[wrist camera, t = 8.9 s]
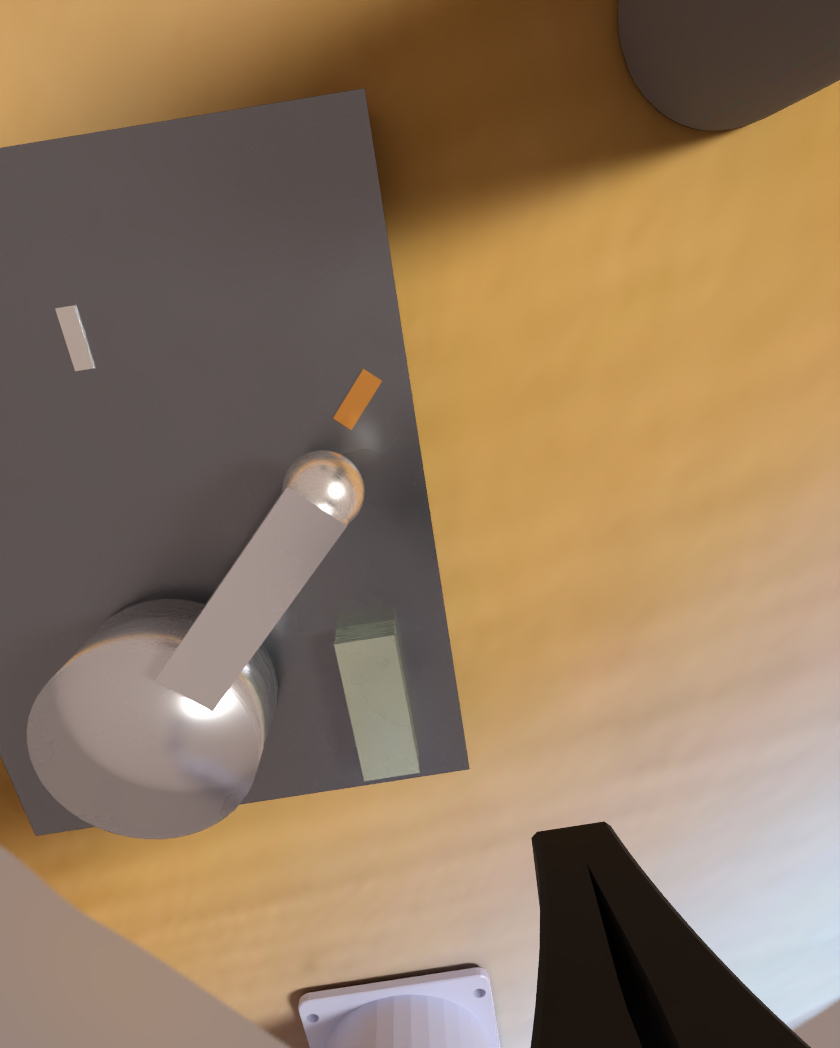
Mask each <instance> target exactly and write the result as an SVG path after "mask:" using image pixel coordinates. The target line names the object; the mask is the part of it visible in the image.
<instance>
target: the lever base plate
mask: <svg viewBox="0 0 840 1048" xmlns="http://www.w3.org/2000/svg"><path fill="white" fill-rule="evenodd" d="M320 450H327V451H333V452H336V453H339V454H341V455H343V456H345V457H346V458H348V459H349V460H350V461H351V462H352V463H353V464H354V465H355V466H356V467H357V469H358V470H359V472H360V474H361V476H362V479H363V482H364V489H365V493H364V501H363V504H362V507H361V509H360V511H359V513H358V514H357V516H356V517H355V518H354V519H353V520H352V521H351V522H350V523H349V524H348V525H347V527H346V528H345V530H344V531H343V533H342V534H341V535H340V537H339V538H338V539H337V541H336V542H335V544H334V545H333V546H332V548H331V549H330V550H329V552H328V553H327V555H326V556H325V557H324V559H323V560H322V562H321V563H320V564H319V566H318V567H317V568H316V570H315V571H314V573H313V574H312V575H311V577H310V578H309V579H308V581H307V582H306V584H305V585H304V586H303V588H302V589H301V590H300V592H299V593H298V595H297V596H296V597H295V599H294V600H293V602H292V603H291V604H290V606H289V607H288V608H287V610H286V611H285V613H284V614H283V615H282V617H281V618H280V619H279V621H278V622H277V624H276V625H275V626H274V628H273V629H272V631H271V632H270V633H269V635H268V636H267V637H266V639H265V640H264V642H263V643H262V645H263V646H264V648H265V649H266V651H267V653H268V654H269V656H270V658H271V660H272V663H273V666H274V669H275V672H276V677H277V684H278V696H277V704H276V708H275V711H274V715H273V718H272V721H271V725H270V728H269V732H268V735H267V738H266V742H265V745H264V748H263V752H262V755H261V758H260V762H259V765H258V768H257V772H256V775H255V778H254V781H253V783H252V786H251V788H250V790H249V792H248V793H247V795H246V796H245V798H244V799H243V801H242V802H241V803H240V804H246V803H252V802H259V801H265V800H272V799H278V798H285V797H291V796H298V795H304V794H311V793H317V792H324V791H330V790H337V789H343V788H350V787H356V786H363V785H369V784H376V783H383V782H389V781H396V780H402V779H409V778H415V777H422V776H428V775H435V774H441V773H448V772H454V771H461V770H467V769H469V763H468V756H467V750H466V743H465V737H464V730H463V724H462V717H461V711H460V704H459V698H458V691H457V685H456V678H455V672H454V665H453V659H452V652H451V646H450V639H449V633H448V626H447V620H446V613H445V607H444V600H443V594H442V587H441V581H440V574H439V568H438V561H437V555H436V549H435V542H434V536H433V529H432V523H431V516H430V510H429V503H428V497H427V490H426V484H425V477H424V471H423V464H422V458H421V451H420V445H419V438H418V432H417V425H416V419H415V412H414V406H413V399H412V393H411V386H410V380H409V373H408V367H407V360H406V354H405V347H404V341H403V334H402V328H401V321H400V315H399V308H398V302H397V295H396V289H395V282H394V276H393V269H392V263H391V256H390V250H389V243H388V237H387V230H386V224H385V217H384V211H383V204H382V198H381V191H380V185H379V178H378V172H377V165H376V159H375V152H374V146H373V139H372V133H371V126H370V120H369V114H368V107H367V101H366V94H365V88H364V89H358V90H352V91H346V92H340V93H333V94H327V95H321V96H315V97H309V98H303V99H297V100H291V101H285V102H278V103H272V104H266V105H260V106H254V107H248V108H242V109H236V110H229V111H223V112H217V113H211V114H205V115H199V116H193V117H187V118H181V119H174V120H168V121H162V122H156V123H150V124H144V125H138V126H132V127H126V128H119V129H113V130H107V131H101V132H95V133H89V134H83V135H77V136H71V137H64V138H58V139H52V140H46V141H40V142H34V143H28V144H22V145H16V146H9V147H3V148H0V756H1V758H2V761H3V763H4V765H5V767H6V770H7V772H8V774H9V776H10V779H11V781H12V783H13V785H14V788H15V790H16V792H17V795H18V797H19V799H20V801H21V804H22V806H23V808H24V810H25V813H26V815H27V817H28V819H29V822H30V824H31V826H32V828H33V831H34V833H35V835H36V836H38V835H44V834H51V833H57V832H64V831H70V830H77V829H83V828H90V827H95V826H93V825H91V824H89V823H87V822H85V821H84V820H82V819H80V818H78V817H77V816H75V815H74V814H73V813H71V812H70V811H68V810H67V809H66V808H65V807H63V806H62V805H61V804H60V803H59V802H58V801H57V800H56V799H55V798H54V797H53V796H52V795H51V794H50V793H49V792H48V790H47V789H46V788H45V786H44V785H43V783H42V782H41V780H40V779H39V777H38V775H37V773H36V771H35V769H34V767H33V764H32V761H31V759H30V756H29V751H28V745H27V725H28V718H29V715H30V712H31V709H32V706H33V704H34V702H35V700H36V698H37V696H38V694H39V693H40V692H41V690H42V689H43V688H44V686H45V685H46V684H47V683H48V682H49V681H50V680H51V679H52V677H53V676H54V675H55V674H56V673H57V672H58V671H59V670H60V669H61V668H62V667H63V666H64V665H65V664H66V663H67V661H68V660H69V659H70V658H71V657H72V656H73V655H74V654H75V653H76V652H77V651H78V650H79V649H80V648H81V647H82V646H83V644H84V643H85V642H86V641H87V640H88V639H89V638H90V637H91V636H92V635H93V634H94V633H95V632H96V631H97V630H98V629H99V628H100V627H101V626H102V625H103V624H104V623H105V622H106V621H107V620H108V619H109V618H111V617H112V616H114V615H115V614H116V613H118V612H120V611H122V610H124V609H126V608H128V607H130V606H133V605H136V604H139V603H142V602H147V601H151V600H160V599H182V600H189V601H195V602H199V603H203V604H206V603H207V601H208V600H209V598H210V597H211V595H212V594H213V592H214V591H215V589H216V588H217V587H218V585H219V584H220V582H221V581H222V579H223V578H224V576H225V575H226V573H227V572H228V570H229V569H230V567H231V566H232V565H233V563H234V562H235V560H236V559H237V557H238V556H239V554H240V553H241V551H242V550H243V548H244V547H245V546H246V544H247V543H248V541H249V540H250V538H251V537H252V535H253V534H254V532H255V531H256V529H257V528H258V526H259V525H260V524H261V522H262V521H263V519H264V518H265V516H266V515H267V513H268V512H269V510H270V509H271V507H272V506H273V505H274V503H275V502H276V500H277V499H278V497H279V496H280V494H281V493H282V484H283V480H284V477H285V474H286V472H287V471H288V469H289V467H290V466H291V465H292V464H293V463H294V462H295V461H296V460H297V459H298V458H300V457H301V456H303V455H305V454H307V453H310V452H313V451H320Z"/></svg>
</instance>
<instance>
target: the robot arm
mask: <svg viewBox="0 0 840 1048" xmlns="http://www.w3.org/2000/svg"><path fill="white" fill-rule="evenodd" d="M532 846H533V854H534V862H535V871H536V879H537V887H538V895H539V904H540V951H539V967H538V980H537V993H536V1006H535V1015H534V1024H533V1033H532V1041H531V1048H811V1047H810V1046H808V1045H807V1044H806V1043H805V1042H804V1041H803V1040H802V1039H801V1038H800V1037H798V1036H797V1035H796V1034H795V1033H794V1032H793V1031H792V1030H791V1029H790V1028H789V1027H788V1026H787V1025H786V1024H785V1023H784V1022H783V1021H781V1020H780V1019H779V1018H778V1017H777V1016H776V1015H775V1014H774V1013H773V1012H772V1011H771V1010H770V1009H769V1008H768V1007H767V1006H766V1005H765V1004H764V1003H763V1002H762V1001H761V1000H760V999H759V998H757V997H756V996H755V995H754V994H753V993H752V992H751V991H750V990H749V989H748V988H747V987H746V986H745V985H744V984H743V983H742V982H741V981H740V979H739V978H738V977H737V976H736V975H735V974H734V973H733V972H732V971H731V970H730V969H729V968H728V967H727V966H726V965H725V964H724V963H723V962H722V961H721V960H720V959H719V958H718V957H717V955H716V954H715V953H714V952H713V951H712V950H711V949H710V948H709V947H708V946H707V945H706V944H705V943H704V941H703V940H702V939H701V938H700V937H699V936H698V935H697V934H696V933H695V931H694V930H693V929H692V928H691V927H690V926H689V925H688V923H687V922H686V921H685V920H684V919H683V918H682V917H681V915H680V914H679V913H678V912H677V911H676V910H675V909H674V907H673V906H672V905H671V904H670V903H669V902H668V900H667V899H666V898H665V897H664V896H663V894H662V893H661V892H660V891H659V890H658V888H657V887H656V886H655V885H654V883H653V882H652V881H651V880H650V878H649V877H648V876H647V875H646V873H645V872H644V871H643V870H642V868H641V867H640V866H639V865H638V863H637V862H636V861H635V859H634V858H633V857H632V855H631V854H630V853H629V851H628V850H627V849H626V847H625V846H624V845H623V843H622V842H621V840H620V839H619V838H618V836H617V835H616V833H615V832H614V830H613V829H612V827H611V826H610V825H608V824H607V823H606V822H599V823H592V824H586V825H579V826H573V827H566V828H560V829H553V830H546V831H540V832H537V833H536V834H535V835H534V836H533V837H532ZM298 1011H299V1014H300V1018H301V1021H302V1024H303V1027H304V1031H305V1034H306V1037H307V1040H308V1044H309V1047H310V1048H501V1047H500V1041H499V1035H498V1029H497V1023H496V1016H495V1010H494V1004H493V998H492V992H491V986H490V980H489V974H488V972H487V971H486V970H485V969H483V968H480V967H475V968H469V969H462V970H455V971H449V972H442V973H435V974H429V975H422V976H416V977H409V978H402V979H396V980H389V981H383V982H376V983H369V984H363V985H356V986H349V987H343V988H336V989H330V990H323V991H316V992H310V993H306V994H304V995H303V996H301V998H300V1000H299V1006H298Z"/></svg>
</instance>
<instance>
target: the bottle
mask: <svg viewBox="0 0 840 1048" xmlns="http://www.w3.org/2000/svg"><path fill="white" fill-rule="evenodd" d="M618 32H619V38H620V44H621V48H622V51H623V55H624V58H625V61H626V64H627V67H628V70H629V72H630V74H631V76H632V78H633V81H634V82H635V84H636V85H637V87H638V89H639V90H640V92H641V93H642V95H643V96H644V97H645V98H646V99H647V100H648V101H649V102H650V103H651V104H652V105H653V106H654V107H655V108H656V109H657V110H658V111H659V112H660V113H661V114H663V115H665V116H666V117H668V118H670V119H672V120H673V121H675V122H677V123H678V124H681V125H684V126H687V127H691V128H695V129H699V130H715V131H722V130H728V129H735V128H740V127H743V126H746V125H748V124H751V123H754V122H756V121H759V120H761V119H764V118H766V117H768V116H770V115H772V114H774V113H776V112H778V111H780V110H782V109H784V108H786V107H788V106H790V105H792V104H794V103H796V102H798V101H800V100H802V99H804V98H806V97H808V96H810V95H812V94H814V93H816V92H818V91H820V90H821V89H823V88H825V87H827V86H829V85H831V84H833V83H835V82H837V81H839V80H840V0H618Z"/></svg>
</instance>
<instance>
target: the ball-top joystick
mask: <svg viewBox="0 0 840 1048" xmlns="http://www.w3.org/2000/svg"><path fill="white" fill-rule="evenodd" d="M364 493H365V489H364V482H363V479H362V476H361V474H360V472H359V470H358V469H357V467H356V466H355V465H354V464H353V463H352V462H351V461H350V460H349V459H348V458H346V457H345V456H343V455H341V454H339V453H336V452H333V451H327V450H320V451H313V452H310V453H307V454H305V455H303V456H301V457H300V458H298V459H297V460H296V461H295V462H294V463H293V464H292V465H291V466H290V467H289V469H288V471H287V472H286V474H285V477H284V480H283V484H282V493H281V494H280V496H279V497H278V499H277V500H276V502H275V503H274V505H273V506H272V507H271V509H270V510H269V512H268V513H267V515H266V516H265V518H264V519H263V521H262V522H261V524H260V525H259V526H258V528H257V529H256V531H255V532H254V534H253V535H252V537H251V538H250V540H249V541H248V543H247V544H246V546H245V547H244V548H243V550H242V551H241V553H240V554H239V556H238V557H237V559H236V560H235V562H234V563H233V565H232V566H231V567H230V569H229V570H228V572H227V573H226V575H225V576H224V578H223V579H222V581H221V582H220V584H219V585H218V587H217V588H216V589H215V591H214V592H213V594H212V595H211V597H210V598H209V600H208V601H207V603H206V604H203V603H199V602H195V601H189V600H182V599H160V600H151V601H147V602H142V603H139V604H136V605H133V606H130V607H128V608H126V609H124V610H122V611H120V612H118V613H116V614H115V615H114V616H112V617H111V618H109V619H108V620H107V621H106V622H105V623H104V624H103V625H102V626H101V627H100V628H99V629H98V630H97V631H96V632H95V633H94V634H93V635H92V636H91V637H90V638H89V639H88V640H87V641H86V642H85V643H84V644H83V646H82V647H81V648H80V649H79V650H78V651H77V652H76V653H75V654H74V655H73V656H72V657H71V658H70V659H69V660H68V661H67V663H66V664H65V665H64V666H63V667H62V668H61V669H60V670H59V671H58V672H57V673H56V674H55V675H54V676H53V677H52V679H51V680H50V681H49V682H48V683H47V684H46V685H45V686H44V688H43V689H42V690H41V692H40V693H39V694H38V696H37V698H36V700H35V702H34V704H33V706H32V709H31V712H30V715H29V718H28V725H27V745H28V751H29V756H30V759H31V761H32V764H33V767H34V769H35V771H36V773H37V775H38V777H39V779H40V780H41V782H42V783H43V785H44V786H45V788H46V789H47V790H48V792H49V793H50V794H51V795H52V796H53V797H54V798H55V799H56V800H57V801H58V802H59V803H60V804H61V805H62V806H63V807H65V808H66V809H67V810H68V811H70V812H71V813H73V814H74V815H75V816H77V817H78V818H80V819H82V820H84V821H85V822H87V823H89V824H91V825H93V826H95V827H98V828H100V829H103V830H105V831H108V832H111V833H115V834H118V835H122V836H127V837H132V838H142V839H167V838H176V837H181V836H186V835H190V834H193V833H196V832H199V831H202V830H204V829H206V828H208V827H210V826H213V825H214V824H216V823H218V822H219V821H221V820H222V819H224V818H225V817H226V816H228V815H229V814H230V813H231V812H232V811H234V810H235V809H236V807H237V806H238V805H239V804H240V803H241V802H242V801H243V799H244V798H245V796H246V795H247V793H248V792H249V790H250V788H251V786H252V783H253V781H254V778H255V775H256V772H257V768H258V765H259V762H260V758H261V755H262V752H263V748H264V745H265V742H266V738H267V735H268V732H269V728H270V725H271V721H272V718H273V715H274V711H275V708H276V704H277V696H278V684H277V677H276V672H275V669H274V666H273V663H272V660H271V658H270V656H269V654H268V653H267V651H266V649H265V648H264V646H263V645H262V643H263V642H264V640H265V639H266V637H267V636H268V635H269V633H270V632H271V631H272V629H273V628H274V626H275V625H276V624H277V622H278V621H279V619H280V618H281V617H282V615H283V614H284V613H285V611H286V610H287V608H288V607H289V606H290V604H291V603H292V602H293V600H294V599H295V597H296V596H297V595H298V593H299V592H300V590H301V589H302V588H303V586H304V585H305V584H306V582H307V581H308V579H309V578H310V577H311V575H312V574H313V573H314V571H315V570H316V568H317V567H318V566H319V564H320V563H321V562H322V560H323V559H324V557H325V556H326V555H327V553H328V552H329V550H330V549H331V548H332V546H333V545H334V544H335V542H336V541H337V539H338V538H339V537H340V535H341V534H342V533H343V531H344V530H345V528H346V527H347V525H348V524H349V523H350V522H351V521H352V520H353V519H354V518H355V517H356V516H357V514H358V513H359V511H360V509H361V507H362V504H363V501H364Z"/></svg>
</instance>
